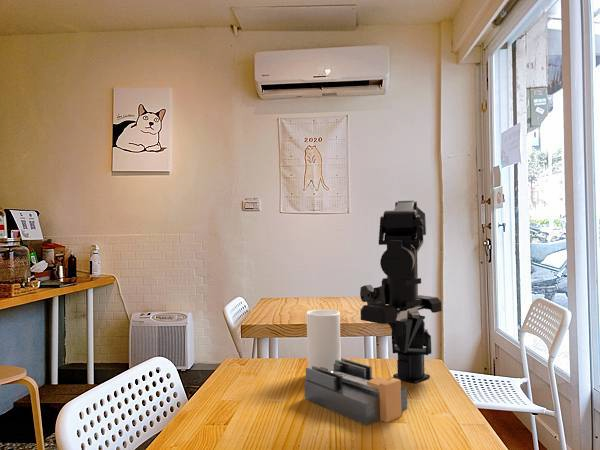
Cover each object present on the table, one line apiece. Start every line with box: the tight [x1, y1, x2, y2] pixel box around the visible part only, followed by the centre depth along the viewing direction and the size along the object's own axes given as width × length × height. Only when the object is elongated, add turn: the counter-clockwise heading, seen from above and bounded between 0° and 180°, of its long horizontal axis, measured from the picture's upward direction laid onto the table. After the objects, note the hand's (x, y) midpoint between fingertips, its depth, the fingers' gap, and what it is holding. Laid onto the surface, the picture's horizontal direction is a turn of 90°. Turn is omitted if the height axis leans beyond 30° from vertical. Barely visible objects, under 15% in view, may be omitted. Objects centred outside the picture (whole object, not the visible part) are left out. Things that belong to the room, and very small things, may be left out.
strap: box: [330, 370, 380, 392], centre depth 95 cm, size 14×3×1 cm, turn 39°
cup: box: [306, 308, 342, 371], centre depth 112 cm, size 8×8×16 cm
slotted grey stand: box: [303, 357, 408, 427], centre depth 94 cm, size 12×18×6 cm, turn 39°
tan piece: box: [367, 376, 403, 424], centre depth 88 cm, size 4×5×7 cm
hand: (403, 352), depth 89 cm, fingers closed
